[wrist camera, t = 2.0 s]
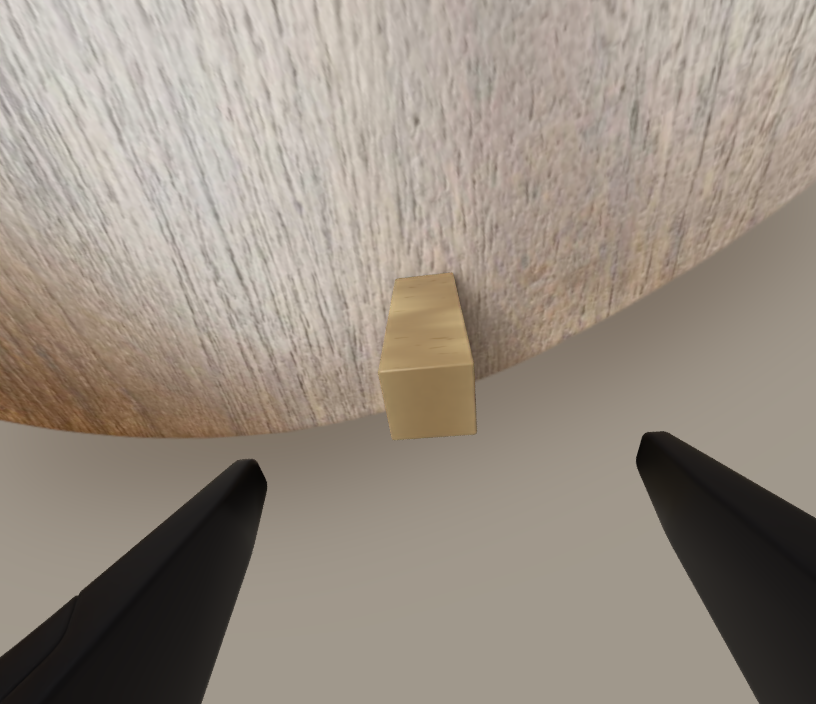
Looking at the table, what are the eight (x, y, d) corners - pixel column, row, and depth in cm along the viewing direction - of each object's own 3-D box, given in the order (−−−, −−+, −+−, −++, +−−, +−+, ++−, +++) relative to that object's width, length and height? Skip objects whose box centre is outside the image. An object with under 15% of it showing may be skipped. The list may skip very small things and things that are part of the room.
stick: (453, 271, 17) (474, 362, 10) (456, 324, 18) (477, 435, 12) (394, 278, 17) (377, 371, 10) (403, 329, 19) (391, 441, 12)
